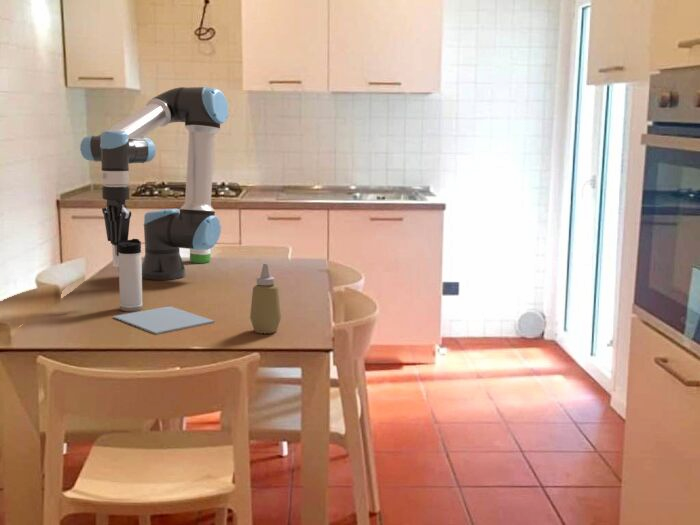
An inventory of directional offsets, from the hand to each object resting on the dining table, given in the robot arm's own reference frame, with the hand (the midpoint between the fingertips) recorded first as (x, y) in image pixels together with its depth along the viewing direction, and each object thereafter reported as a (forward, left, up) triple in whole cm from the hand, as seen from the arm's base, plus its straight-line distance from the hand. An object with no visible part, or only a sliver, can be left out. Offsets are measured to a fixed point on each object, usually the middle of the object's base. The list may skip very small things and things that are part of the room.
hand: (118, 266), depth 231 cm
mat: (+24, 0, -12) cm, 26 cm away
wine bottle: (-42, +57, -12) cm, 72 cm away
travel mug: (+7, 0, -12) cm, 13 cm away
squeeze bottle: (+51, +14, -12) cm, 54 cm away
